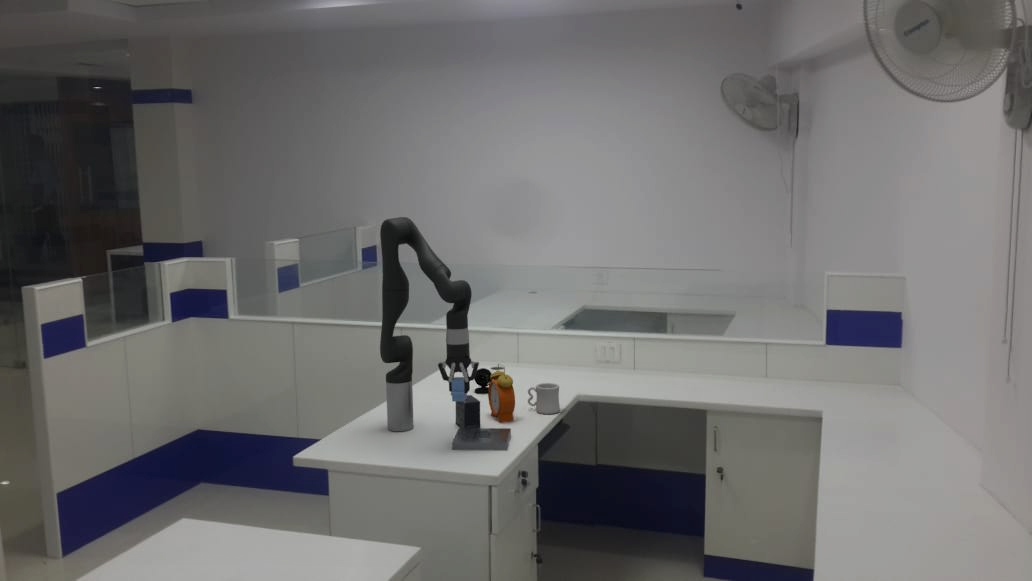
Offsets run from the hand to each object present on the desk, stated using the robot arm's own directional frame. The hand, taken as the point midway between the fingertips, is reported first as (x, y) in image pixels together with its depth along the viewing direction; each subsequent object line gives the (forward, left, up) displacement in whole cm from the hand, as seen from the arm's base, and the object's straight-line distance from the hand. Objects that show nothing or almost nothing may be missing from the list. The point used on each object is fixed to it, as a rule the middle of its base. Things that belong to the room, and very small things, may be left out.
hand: (459, 392), depth 285 cm
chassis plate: (-3, +7, -18) cm, 19 cm away
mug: (-42, +26, -18) cm, 52 cm away
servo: (0, 0, -2) cm, 2 cm away
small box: (-21, 0, -18) cm, 28 cm away
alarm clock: (-32, +11, -18) cm, 38 cm away
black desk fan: (-71, 0, -18) cm, 73 cm away
